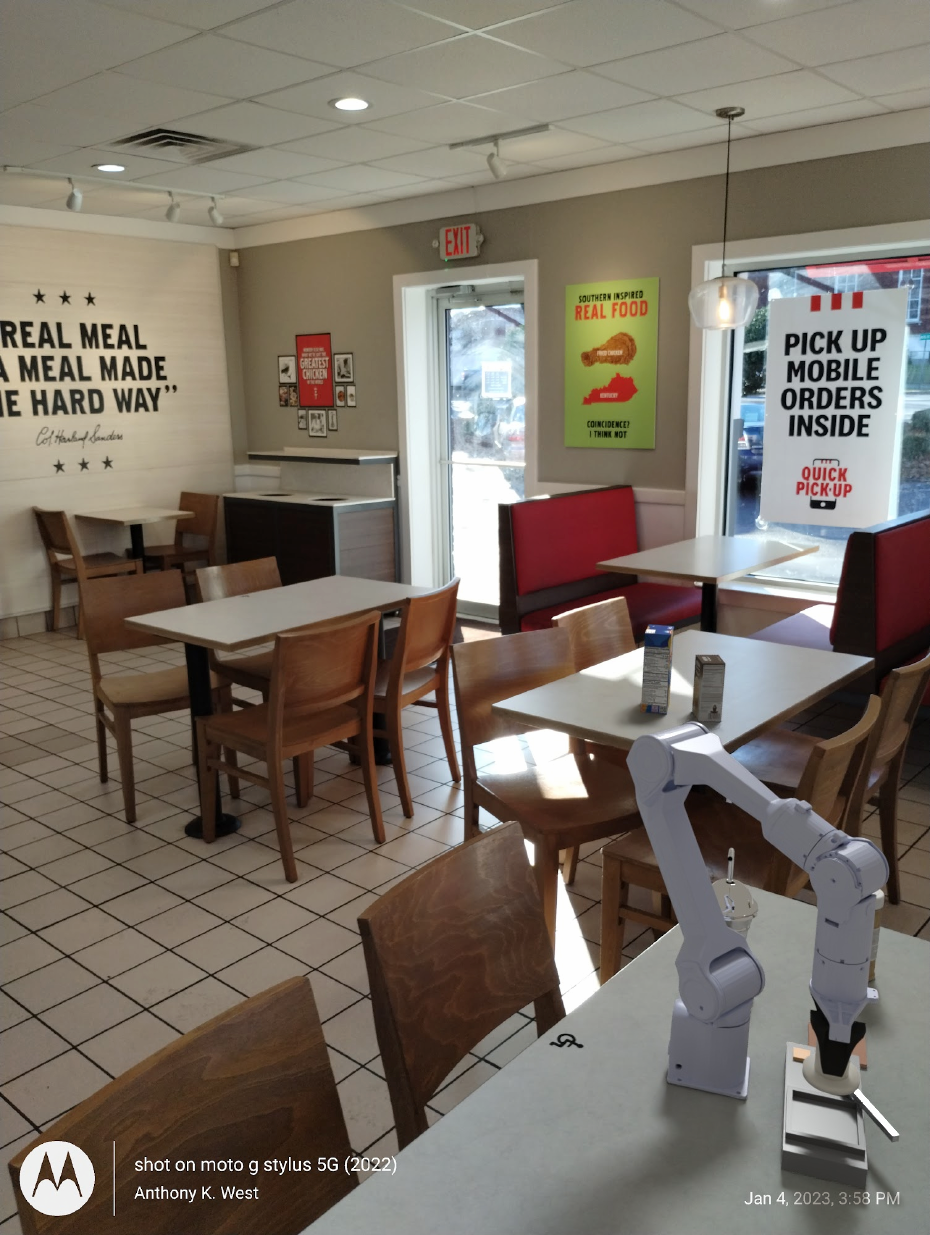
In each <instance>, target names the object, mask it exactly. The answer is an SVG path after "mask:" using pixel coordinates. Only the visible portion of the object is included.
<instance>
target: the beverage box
mask: <svg viewBox="0 0 930 1235" xmlns="http://www.w3.org/2000/svg"><path fill="white" fill-rule="evenodd" d="M674 632H675V626H674V625H673V626H672V625H662V624H661V625H660V624H648V625H647V628H646V630H645V632H644V645H643V646H644V647H643V666H642V667H643V668H642V681H641V683H642V685H641V703H640V713H646V714H647V713H648V714H656V715H657V714H658V715H666V716H667V714H668V711H669V708H670V707H669V706H670V701H671V700H670V699H671V683H672V682H671V681H672V669H673V668H672V666H673V649H674V634H675V633H674Z"/></svg>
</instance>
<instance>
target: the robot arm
mask: <svg viewBox="0 0 930 1235" xmlns="http://www.w3.org/2000/svg"><path fill="white" fill-rule="evenodd" d="M625 761H626V764H627V767H628V771H629V773H630V776H631V779H632V781H633V784H634V788H635V789H634V790H635V801H636V804H637V807H638V811H639V813H640V817H641V820H642V822H643V825H644V827H645V829H646V833H647V836H648V839H649V842H650V844H651V847H652V850H653V853H654V856H655V859H656V862H657V864H658V868H659V870H660V874H661V876H662V879H663V881H664V885H665V887H666V891H667V893H668V897H669V899H670V901H671V905H672V908H673V911H674V914H675V916H676V919H677V922H678V924H679V928H680V931H681V933H682V936H683V942H682V944H681V946H680V949H679V950H678V953H677V956H676V958H675V961H674V966H675V968H676V970H677V974H678V991H679V996H680V998H675V1000H674V1004H673V1010H672V1015H671V1024H670V1025H671V1026H670V1037H669V1038H670V1039H669V1040H668V1041H669V1042H668V1048H667V1055H668V1068H667V1070H668V1071H667V1077H666V1082H668V1083H669V1084H673V1085H677V1086H682V1087H685V1088H686V1087H687V1088H690V1089H691V1088H692V1089H696V1090H699V1091H700V1090H701V1091H704V1092H709V1093H713V1094H718V1095H722V1096H727V1097H732V1098H737V1099H741V1100H746V1099H748V1090H749V1081H750V1080H749V1079H750V1078H749V1077H750V1070H751V1069H750V1067H751V1066H750V1065H751V1058H750V1057H749V1056H748V1048H749V1038H750V1023H751V1011H752V1008H754V1000H755V998H756V997H757V996H759V995H761V993H763V991H764V989H765V986H766V974H765V971H764V969H763V966H762V964H761V962H760V960H759V959H758V958H757V957H756V955H755V954H754V953H753V951H752V950H751V948H750V947H749V943H748V941H747V938H745V936H743V935H742V934H740V933H738V932H736V931H734V930H732V929H731V928H729V927H728V926H727V924H726V922H725V919H724V916H723V913H722V911H721V908H720V905H719V902H718V899H717V897H716V894H715V891H714V888H713V885H712V883H713V882H712V880H711V878H710V874H709V872H708V870H707V866H706V863H705V861H704V858H703V855H702V853H701V849H700V846H699V844H698V842H697V839H696V836H695V833H694V830H693V826H692V825H691V822H690V819H689V817H688V816H689V815H688V813H687V811H686V808H685V804H684V802H685V801H686V799H687V797H688V795H689V792H690V791H691V789H692V786H693V785H707V786H709V787H710V788H712V790H715V791H716V792H718V794H719V795H722V796H723V797H725V798H726V799H727V800H728V801H730V802H731V803H733V804H734V805H736V806H737V807H739V808H740V809H742V810H743V811H744V812H746V813H748V814H749V815H750V816H752V817H753V818H754V819H756V820H757V821H759V822H760V824H761V830H762V835H763V838H764V839H765V840H767V842H769V843H770V844H771V845H773V847H774V848H775V849H778V850H779V851H780V852H781V853H782V854H783V855H785V856H786V857H787V858H788V859H790V860H791V861H792V862H793V863H795V864H796V865H797V866H798V867H799V868H801V869H802V870H803V871H804V872H806V873H807V874H808V875H809V880H810V883H811V884H810V885H811V887H812V889H813V892H814V893H815V896H816V900H817V901H816V909H817V917H816V927H815V939H814V949H813V961H812V972H811V976H810V977H811V978H810V979H809V984H808V990H809V994H810V996H811V998H812V1000H813V1003H814V1006H815V1009H816V1010H815V1009H810V1012H809V1020H810V1021H809V1022H811V1026H812V1029H813V1030H814V1032H815V1034H816V1037H817V1040H818V1044H819V1052H820V1062H821V1068H822V1072H823V1074H827V1075H832V1076H837V1077H843V1075H844V1073H845V1070H846V1068H847V1065H848V1062H849V1059H850V1056H851V1054H852V1052H853V1050H854V1048H855V1047H856V1045H857V1044H858V1043H859V1042H860V1041H861V1040H862V1039H863V1038H864V1036H866V1032H867V1026H866V1025H867V1023H866V1022H862V1021H857V1018H858V1017H859V1015H860V1014H861V1013H862V1011H863V1010H864V1008H865V1007H866V1005H868V1004H872V1005H873V1004H874V1005H877V1004H879V991H878V990H877V989H875V988H872V987H869V981H868V978H869V967H870V958H871V949H872V938H873V928H874V918H875V907H876V897H877V895H876V894H873V893H874V892H876V891H878V890H879V889H880V890H882V888H883V887H885V885H886V883H887V882H888V879H889V877H890V876H889V875H890V867H889V862H888V860H887V858H886V856H885V854H884V853H883V852H882V851H881V849H879V847H878V846H877V845H876V844H875V843H874V842H873V840H870V839H867V838H864V837H860V836H859V837H857V836H856V837H852V836H850V835H849V834H847V833H845V832H844V831H843V830H842V829H839V830H838V829H837V828H836V827H835V826H833V825H832V824H830V822H828V821H826V820H825V819H824V818H823V817H822V816H820V815H819V814H817V813H816V812H815V811H814V810H812V809H813V806H812V804H810V803H809V802H807V801H806V800H805V799H804V800H799V799H797V798H795V797H793V798H792V797H789V798H780V797H779V796H778V795H776V794H775V793H774V792H773V791H772V790H770V788H768V787H767V786H766V785H765V784H764V783H763V782H762V781H760V780H759V778H757V777H756V776H755V775H754V774H752V773H751V772H750V770H748V769H747V768H746V767H745V766H743V765H742V764H741V763H740V762H739V761H738V760H736V758H735V757H733V756H732V754H730V753H729V752H727V751H726V749H725V748H724V745H723V742H722V739H721V737H720V736H719V735H717V734H715V733H713V732H711V731H710V730H709V729H708V728H707V726H705V725H704V724H703V723H700V722H699V721H688V722H684V723H682V724H680V725H678V726H675V727H671V728H667V729H664V730H661V731H657V732H653V733H647V734H642V735H640V736H638V737H637V738H636V739H635V740H634V742H633V744H632V745H631V747H630V750H629V753H628V754H627V757H626V759H625Z"/></svg>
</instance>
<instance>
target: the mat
mask: <svg viewBox="0 0 930 1235" xmlns="http://www.w3.org/2000/svg"><path fill="white" fill-rule="evenodd" d="M807 1026H808V1028H807V1029H808V1034H807V1035H808V1038H807V1043H808V1045H807V1046H812V1047H816V1041H817V1037H816V1034H815V1032H814V1030H813V1029H812V1026H811V1022H810V1021H808V1025H807ZM865 1036H866V1035H865ZM865 1036H864V1038H863V1039H862V1040H861V1041H860V1042H859V1043H858V1044H857V1045H856V1047H855V1048H854V1050H853V1052H852V1055H857V1056H859V1062H860V1068H863V1069H867V1068H868V1060H867V1049H866V1038H865Z"/></svg>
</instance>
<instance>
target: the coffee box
mask: <svg viewBox="0 0 930 1235" xmlns="http://www.w3.org/2000/svg"><path fill="white" fill-rule="evenodd" d="M694 658H695V659H694V671H693V674H694V676H693V690H692V703H691V704H692V707H691V710H692V713H693V714H694V716H695V718H696V720H697V722H716V723H717V722H722V716H723V702H724V700H723V699H724V690H725V678H726V677H725V675H726V662H725V661H724V660H723V659H722V657H721V656H720V654H695V657H694Z"/></svg>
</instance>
